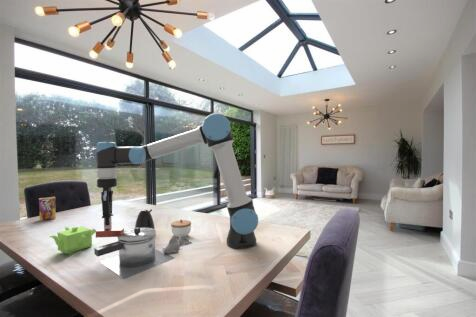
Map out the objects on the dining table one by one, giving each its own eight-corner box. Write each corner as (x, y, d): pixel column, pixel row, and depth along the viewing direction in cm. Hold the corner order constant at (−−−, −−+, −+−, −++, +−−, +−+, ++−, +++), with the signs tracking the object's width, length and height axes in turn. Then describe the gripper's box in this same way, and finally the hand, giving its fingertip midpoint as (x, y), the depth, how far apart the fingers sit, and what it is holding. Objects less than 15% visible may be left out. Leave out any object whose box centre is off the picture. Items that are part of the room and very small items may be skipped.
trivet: (175, 260, 103) (175, 258, 103) (124, 281, 86) (123, 278, 86) (147, 247, 117) (147, 245, 117) (99, 263, 100) (99, 261, 100)
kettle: (49, 259, 105) (48, 233, 105) (63, 247, 119) (62, 224, 119) (87, 255, 109) (87, 230, 109) (97, 244, 123) (96, 222, 123)
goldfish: (172, 237, 128) (184, 225, 126) (184, 251, 127) (197, 239, 126) (154, 254, 108) (168, 241, 106) (169, 270, 107) (183, 257, 106)
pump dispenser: (159, 235, 135) (158, 208, 135) (144, 241, 126) (144, 212, 125) (145, 232, 139) (144, 206, 139) (130, 238, 130) (130, 210, 129)
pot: (144, 249, 112) (144, 228, 112) (162, 258, 103) (162, 235, 103) (89, 268, 94) (88, 243, 94) (104, 281, 85) (104, 253, 85)
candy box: (55, 217, 174) (55, 196, 173) (55, 218, 170) (55, 197, 170) (39, 219, 168) (39, 198, 168) (39, 221, 165) (38, 198, 164)
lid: (159, 229, 110) (159, 222, 110) (150, 241, 95) (150, 233, 95) (105, 231, 107) (105, 224, 107) (88, 243, 93) (88, 235, 93)
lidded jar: (186, 240, 127) (186, 223, 126) (167, 239, 129) (167, 221, 128) (194, 234, 137) (194, 217, 137) (176, 232, 139) (176, 216, 139)
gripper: (100, 176, 109) (101, 228, 110) (93, 179, 97) (94, 237, 97) (118, 176, 112) (119, 226, 112) (114, 178, 99) (115, 235, 100)
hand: (107, 231), depth 105 cm, fingers closed
